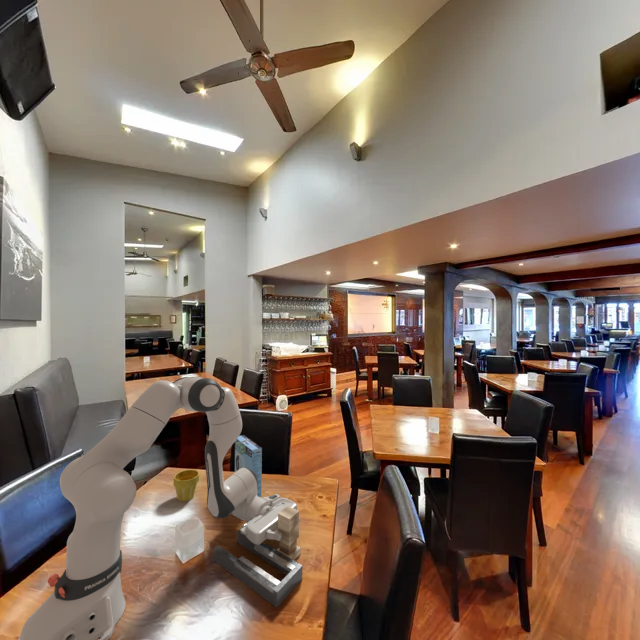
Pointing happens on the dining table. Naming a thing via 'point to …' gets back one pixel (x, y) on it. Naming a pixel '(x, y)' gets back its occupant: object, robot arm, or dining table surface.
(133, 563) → the dining table surface
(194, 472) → the plant pot
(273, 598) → the grey slotted frame
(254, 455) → the gum box
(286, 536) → the birch keyhole peg
